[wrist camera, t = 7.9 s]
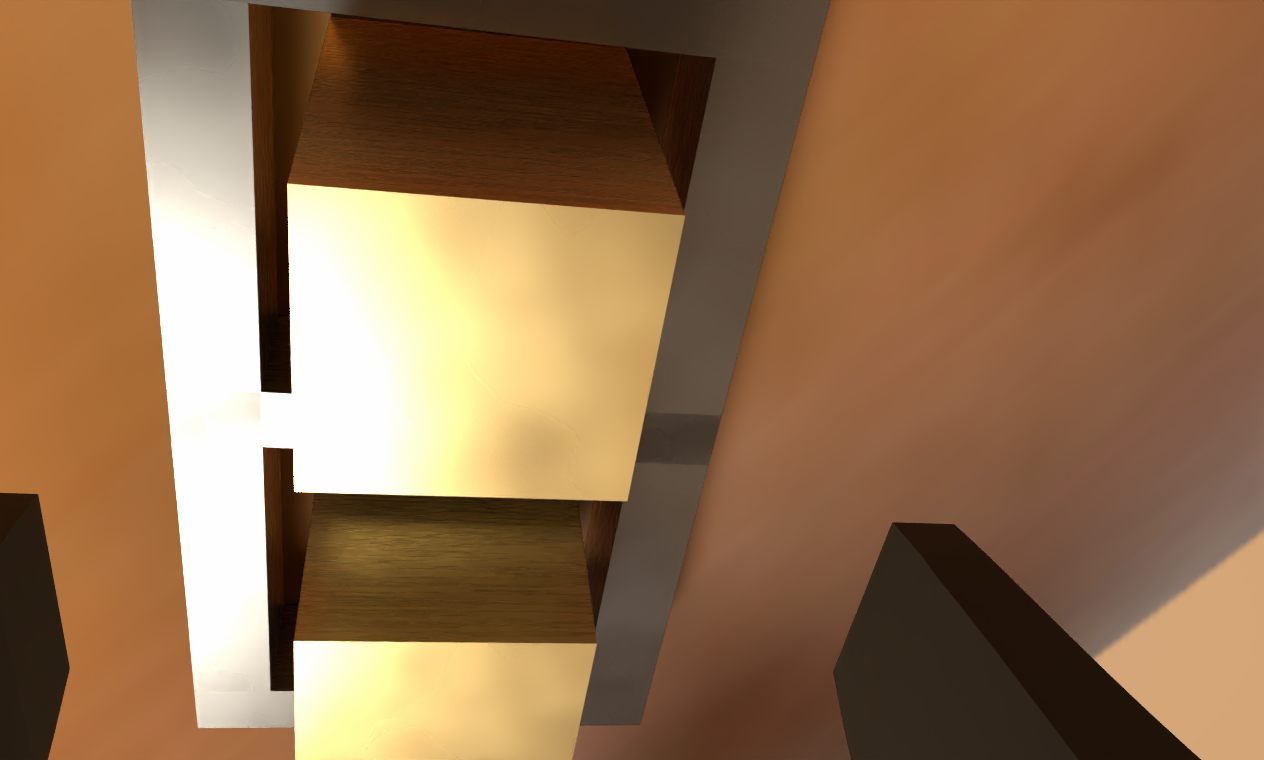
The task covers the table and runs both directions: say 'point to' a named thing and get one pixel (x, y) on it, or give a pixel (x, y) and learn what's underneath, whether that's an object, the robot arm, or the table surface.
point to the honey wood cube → (475, 266)
